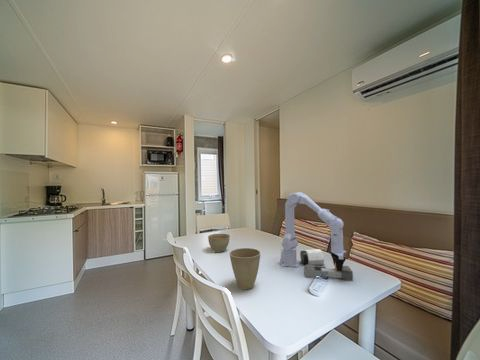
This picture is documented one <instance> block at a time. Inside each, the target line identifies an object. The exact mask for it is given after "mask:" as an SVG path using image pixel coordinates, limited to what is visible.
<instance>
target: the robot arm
mask: <svg viewBox="0 0 480 360" xmlns="http://www.w3.org/2000/svg"><path fill="white" fill-rule="evenodd" d="M300 204H301V205H306V206H307V207H309V208H310V209H312V211H314V212H315V213H317V217H318V218H319V219H320V220H322V221H323V222H324V223H325V224H326V225H328V228H329V229H330V247H331V249H330V252H329V254H330V256H331V258H332V261H333V266H334V267H335V264H336V269H337V271H342V267H343V266H344V263H345V262H346V260H347V259H346V257H344V254H346V253H347V251H346V250H345V249H344V233H343V232H344V231H343V230H344V229H343V227H344V226H345V224H344V221H343V220H342V218H340V217H338V216H336V215H334V214H332V213H331V212H330V209H327V208H322V207H321V206H319V205H318V204H317V203H316V202H315V201H313V199H311V198H310V197H309V196H308V194H305V193H304V192H302V191H297V192H291V193H290V194H288V196H287V200H286V202H285V203H284V215H285V216H284V221H285V223H284V224H285V229H284V231H285V233H284V235H283V237H282V242H281V247H282V248H281V249H280V266H281V267H291V268H292V267H293V268H299V267H298V261H297V260H298V259H297V246H298V245H299V241H298V238H297V235H296V233H295V231H296V230H295V228H296V227H295V207H297V206H298V205H300Z"/></svg>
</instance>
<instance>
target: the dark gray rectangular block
mask: <svg viewBox="0 0 480 360" xmlns="http://www.w3.org/2000/svg"><path fill="white" fill-rule="evenodd" d="M353 273H354V272H353V270H352V269H351V267H350V266H348V265H343V267H342V278H341V279H342V281H348V282H349V281H352V282H353V281H354V276H353V275H354V274H353Z"/></svg>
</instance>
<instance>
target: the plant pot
mask: <svg viewBox="0 0 480 360" xmlns="http://www.w3.org/2000/svg"><path fill="white" fill-rule="evenodd" d="M229 258H230V264H231V268H232V271H233V275H234V278H235V281H236V283H237V286H238V288H239V289H241V290H251V289H252V288H254V286H255V283H256V280H257V275H258V273H259V268H260V262H261V261H260V260H261V251H260V250H259V249H256V248H252V247H251V248H250V247H242V248H235V249H233V250H231V251H230V252H229Z"/></svg>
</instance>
